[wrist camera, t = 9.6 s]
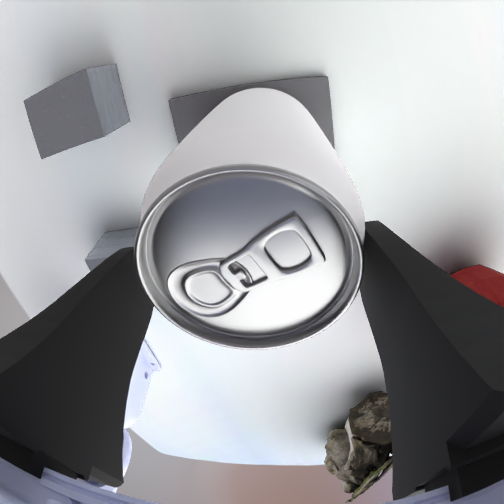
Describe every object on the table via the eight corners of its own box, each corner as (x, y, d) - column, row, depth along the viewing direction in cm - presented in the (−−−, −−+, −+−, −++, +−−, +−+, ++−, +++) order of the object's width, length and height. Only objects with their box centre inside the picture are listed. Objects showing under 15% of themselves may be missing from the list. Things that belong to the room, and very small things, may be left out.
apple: (481, 317, 26) (521, 408, 16) (395, 336, 27) (422, 444, 18) (512, 230, 20) (585, 327, 10) (412, 242, 21) (476, 372, 12)
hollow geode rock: (377, 339, 35) (296, 427, 27) (463, 385, 27) (397, 494, 19) (346, 429, 50) (292, 484, 43) (398, 462, 42) (347, 523, 34)
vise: (184, 285, 25) (173, 317, 22) (131, 288, 25) (117, 318, 23) (115, 63, 15) (86, 68, 12) (55, 89, 16) (23, 100, 13)
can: (183, 128, 17) (73, 245, 7) (277, 65, 14) (294, 78, 5) (246, 208, 20) (223, 377, 10) (337, 158, 17) (411, 305, 8)
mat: (335, 213, 20) (337, 217, 20) (203, 227, 21) (202, 231, 21) (326, 76, 15) (327, 76, 15) (171, 99, 16) (168, 100, 16)
